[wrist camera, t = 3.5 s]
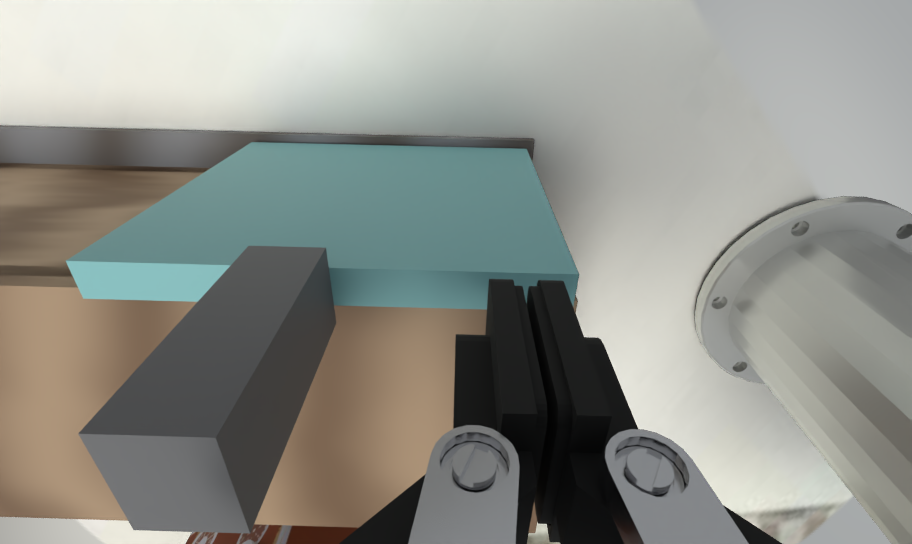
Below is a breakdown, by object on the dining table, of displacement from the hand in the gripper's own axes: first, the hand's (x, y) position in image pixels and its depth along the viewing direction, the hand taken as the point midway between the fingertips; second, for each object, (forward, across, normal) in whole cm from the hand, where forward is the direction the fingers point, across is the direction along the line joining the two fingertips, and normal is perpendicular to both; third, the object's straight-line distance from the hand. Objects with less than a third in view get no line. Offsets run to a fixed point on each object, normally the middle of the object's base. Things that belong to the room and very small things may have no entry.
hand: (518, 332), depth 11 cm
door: (+14, +5, 0) cm, 15 cm away
